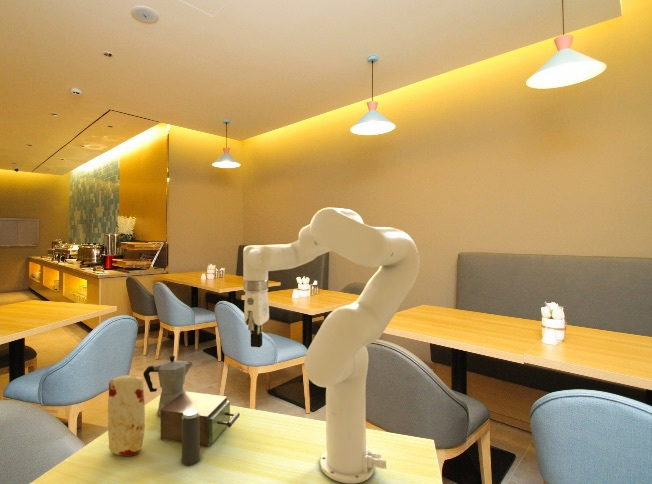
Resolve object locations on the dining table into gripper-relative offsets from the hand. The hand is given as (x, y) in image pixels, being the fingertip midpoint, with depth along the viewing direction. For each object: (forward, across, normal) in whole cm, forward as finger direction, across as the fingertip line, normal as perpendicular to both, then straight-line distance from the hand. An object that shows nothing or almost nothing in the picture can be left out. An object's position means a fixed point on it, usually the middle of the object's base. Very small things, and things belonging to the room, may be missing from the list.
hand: (256, 346), depth 107 cm
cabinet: (+23, -9, +16) cm, 30 cm away
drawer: (+22, -9, +12) cm, 27 cm away
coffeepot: (+23, -1, +30) cm, 38 cm away
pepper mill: (+23, -22, +10) cm, 33 cm away
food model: (+23, -23, +28) cm, 43 cm away
